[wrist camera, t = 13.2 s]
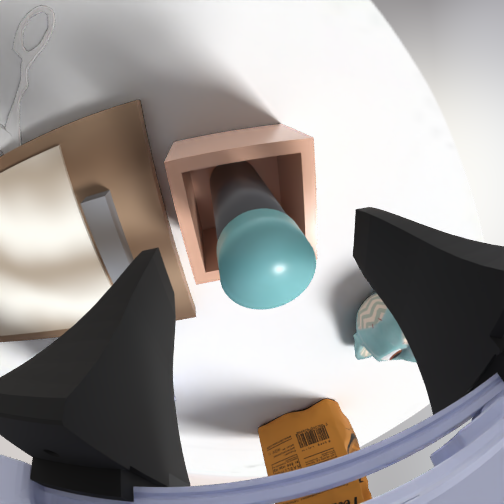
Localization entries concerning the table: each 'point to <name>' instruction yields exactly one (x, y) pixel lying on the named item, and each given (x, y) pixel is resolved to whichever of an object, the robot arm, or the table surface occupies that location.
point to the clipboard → (79, 222)
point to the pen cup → (266, 165)
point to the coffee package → (313, 449)
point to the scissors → (23, 78)
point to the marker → (257, 241)
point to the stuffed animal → (379, 333)
